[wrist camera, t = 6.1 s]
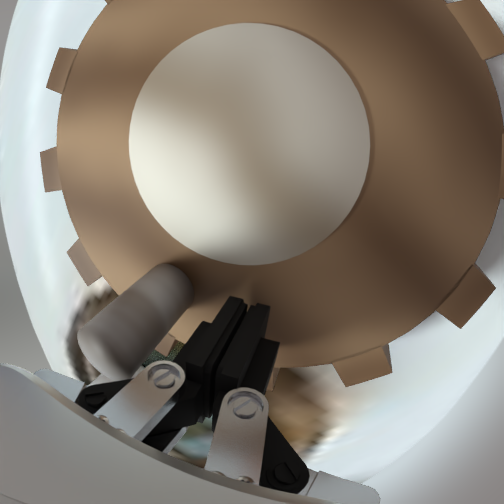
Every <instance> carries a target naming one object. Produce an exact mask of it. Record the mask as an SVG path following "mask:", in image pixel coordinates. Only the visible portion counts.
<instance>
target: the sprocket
mask: <svg viewBox="0 0 504 504" xmlns="http://www.w3.org/2000/svg"><path fill="white" fill-rule="evenodd" d="M105 1H106V2H107V5H106V6H105V8H104V9H103V10H102V11H101V13H100V14H99V15H98V17H97V18H96V20H95V21H94V22H93V24H92V25H91V27H90V28H89V30H88V32H87V33H86V35H85V37H84V39H83V40H82V42H81V44H80V46H79V48H78V50H77V49H69V48H60V47H59V50H58V53H57V55H56V58H55V61H54V64H53V67H52V70H51V73H50V76H49V79H48V83H47V86H46V88H48V89H51V90H53V91H55V92H58V93H60V94H62V96H61V102H60V108H59V115H58V124H57V146H56V147H54V148H51V149H48V150H45V151H42V152H40V157H41V166H42V174H43V181H44V188H45V192H51V191H58V190H62V192H63V195H64V199H65V202H66V206H67V209H68V212H69V215H70V218H71V220H72V223H73V225H74V228H75V230H76V232H77V235H78V237H79V239H78V240H77V241H76V242H75V243H74V244H73V246H72V247H71V248H70V249H69V250H68V251H67V254H68V255H69V257H70V259H71V260H72V262H73V264H74V265H75V267H76V269H77V270H78V272H79V273H80V275H81V277H82V278H83V280H84V281H85V283H86V284H87V286H89V285H91V284H92V283H93V282H95V281H96V280H98V279H99V278H100V277H102V276H103V277H104V279H105V280H106V281H107V282H108V283H109V285H110V286H111V287H112V288H113V289H114V290H115V292H116V293H117V294H118V295H119V296H118V297H117V298H116V299H115V300H114V301H112V302H111V303H110V304H109V305H108V306H106V307H105V308H104V309H103V310H102V311H101V312H100V313H98V314H97V315H96V316H95V317H94V318H93V319H91V320H90V321H89V322H88V323H87V324H86V325H85V326H83V327H82V328H81V329H80V330H79V331H78V335H77V338H78V343H79V345H80V348H81V350H82V352H83V353H84V355H85V356H86V358H87V359H88V360H89V362H90V363H91V364H92V365H93V366H94V367H95V368H96V369H97V370H98V371H99V372H101V373H102V374H103V375H105V376H106V377H108V378H109V379H111V380H113V381H120V380H126V379H131V378H132V376H133V375H134V374H135V373H136V371H137V370H138V369H139V368H140V366H141V365H142V364H143V363H144V361H145V360H146V359H147V358H148V356H149V355H150V354H151V353H152V352H153V350H154V349H155V350H157V351H158V352H160V353H161V354H163V355H164V356H166V357H167V356H168V355H169V353H170V352H171V351H172V349H173V348H174V346H175V345H176V344H177V342H178V341H180V342H182V343H184V344H186V342H187V341H188V340H189V338H190V337H191V335H192V334H193V333H194V331H195V330H196V329H197V327H198V326H199V324H200V323H201V322H202V321H206V322H209V323H212V321H213V320H214V318H215V317H216V315H217V314H218V312H219V311H220V309H221V308H222V306H223V305H224V304H225V302H226V301H227V299H228V298H229V296H233V297H237V298H241V299H243V300H244V303H246V304H248V307H247V311H248V309H249V308H250V306H251V305H254V306H255V305H256V304H257V303H260V304H264V305H268V306H270V313H269V318H268V323H267V328H266V334H265V338H266V339H269V340H273V341H277V342H280V346H279V350H278V353H277V357H276V361H275V364H274V368H273V371H272V374H271V377H270V380H269V383H268V386H267V389H266V390H269V391H273V389H274V386H275V382H276V379H277V376H278V372H279V369H280V368H287V367H309V366H317V365H324V364H330V363H332V364H333V366H334V368H335V370H336V371H337V373H338V375H339V376H340V378H341V380H342V381H343V383H344V385H345V386H346V387H348V386H352V385H355V384H359V383H362V382H365V381H369V380H372V379H375V378H378V377H381V376H384V375H387V374H390V373H392V366H391V358H390V351H389V345H388V343H390V342H391V341H393V340H395V339H397V338H398V337H400V336H402V335H404V334H405V333H407V332H409V331H410V330H412V329H413V328H414V327H416V326H417V325H418V324H419V323H421V322H422V321H423V320H425V319H426V318H427V317H428V316H430V315H431V314H432V313H433V312H435V311H437V312H439V313H440V314H441V315H443V316H444V317H445V318H447V319H448V320H449V321H451V322H452V323H453V324H455V325H456V326H457V327H459V328H460V329H461V328H462V327H463V326H464V325H465V324H466V323H467V322H468V320H469V319H470V318H471V317H472V316H473V315H474V314H475V313H476V312H477V310H478V309H479V308H480V307H481V306H482V305H483V303H484V302H485V301H486V300H487V299H488V297H489V296H490V295H491V294H492V292H493V291H494V290H495V289H496V287H495V286H494V285H493V284H492V282H491V281H490V280H489V279H488V277H487V276H486V275H485V274H484V273H483V271H482V270H481V269H480V268H479V267H478V266H477V265H476V264H475V261H476V260H477V258H478V256H479V254H480V252H481V250H482V248H483V246H484V244H485V242H486V240H487V238H488V236H489V233H490V231H491V228H492V225H493V222H494V219H495V216H496V212H497V209H498V206H499V202H500V198H501V199H504V126H503V119H502V114H501V108H500V103H499V99H498V95H497V92H496V88H495V86H494V83H493V80H492V77H491V74H490V72H489V69H488V66H487V64H486V61H485V60H488V59H491V58H493V57H496V56H498V55H501V54H503V53H504V35H503V34H502V32H501V30H500V29H499V27H498V26H497V24H496V22H495V21H494V19H493V18H492V16H491V15H490V14H489V12H488V11H487V9H486V8H485V6H484V5H483V4H482V2H481V1H480V0H461V1H457V2H453V3H448V4H447V3H446V2H445V1H444V0H105Z"/></svg>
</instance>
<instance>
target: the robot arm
mask: <svg viewBox="0 0 504 504" xmlns="http://www.w3.org/2000/svg"><path fill="white" fill-rule="evenodd" d="M247 307H248V304H246V303H244V300H243V299H241V298H237V297H233V296H229V298H228V299H227V301H226V302H225V304H224V305H223V306H222V308H221V309H220V311H219V312H218V314H217V315H216V317H215V318H214V320H213V321H212V323H209V322H206V321H202V322H201V323H200V324H199V326H198V327H197V329H196V330H195V331H194V333H193V334H192V335H191V337H190V338H189V340H188V341H187V342H186V344H185V345H184V347H183V348H182V349H181V351H180V352H179V353H178V355H177V356H176V358H175V359H174V360H173V362H171V361H156V362H153V363H151V364H150V365H148V366H147V367H146V368H145V369H144V370H142V371H141V372H140V373H139V374H138V375H137V376H136V377H135V378H132V379H126V380H120V381H114V382H108V383H101V384H95V385H91V386H86V385H85V383H84V382H81V381H78V380H75V379H73V378H70V377H67V376H65V375H62V374H59V373H57V372H54V371H52V370H49V369H40V370H38V371H36V372H35V373H34V374H33V373H31V372H29V371H27V370H25V369H23V368H20V367H18V366H14V365H11V364H6V363H0V504H380V497H379V494H378V493H377V492H376V490H375V489H373V488H371V487H369V486H366V485H362V484H359V483H355V482H352V481H349V480H346V479H343V478H340V477H337V476H334V475H331V474H328V473H325V472H322V471H319V472H316V471H313V470H311V469H308V468H307V466H306V464H305V463H304V462H303V461H302V459H301V458H300V457H299V456H298V454H297V453H296V452H295V451H294V449H293V448H292V447H291V446H290V444H289V443H288V442H287V440H286V439H285V438H284V436H283V435H282V434H281V433H280V431H279V430H278V429H277V427H276V426H275V425H274V423H273V422H272V421H271V419H270V418H269V416H268V410H269V406H268V401H267V399H266V397H265V396H264V395H265V392H266V389H267V386H268V383H269V380H270V377H271V374H272V371H273V368H274V364H275V361H276V357H277V353H278V350H279V346H280V342H277V341H273V340H269V339H266V338H265V334H266V328H267V323H268V318H269V313H270V306H268V305H264V304H260V303H257V304H256V305H255V306H254V305H251V306H250V308H249V309H248V311H247ZM212 414H213V415H212ZM211 416H212V431H213V433H214V435H213V439H212V443H211V446H210V450H209V454H208V458H207V462H206V465H205V469H202V468H200V467H197V466H194V465H192V464H189V463H187V462H184V461H182V460H179V459H177V458H175V457H172V456H170V455H168V453H169V452H170V450H171V449H172V448H173V447H174V446H175V444H176V443H177V442H178V441H179V440H180V438H181V437H182V436H183V435H184V433H185V432H186V431H187V429H188V426H191V425H194V424H196V423H197V422H200V423H203V421H204V419H205V417H208V418H210V417H211Z"/></svg>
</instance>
